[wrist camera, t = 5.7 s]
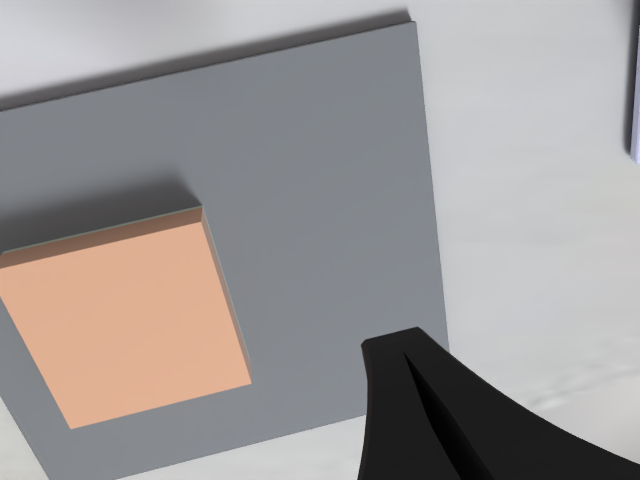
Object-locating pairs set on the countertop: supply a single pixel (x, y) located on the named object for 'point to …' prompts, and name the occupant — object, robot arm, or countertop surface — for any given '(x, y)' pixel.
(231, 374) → the tile
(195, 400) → the mat
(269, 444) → the countertop surface
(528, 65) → the countertop surface
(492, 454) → the robot arm
